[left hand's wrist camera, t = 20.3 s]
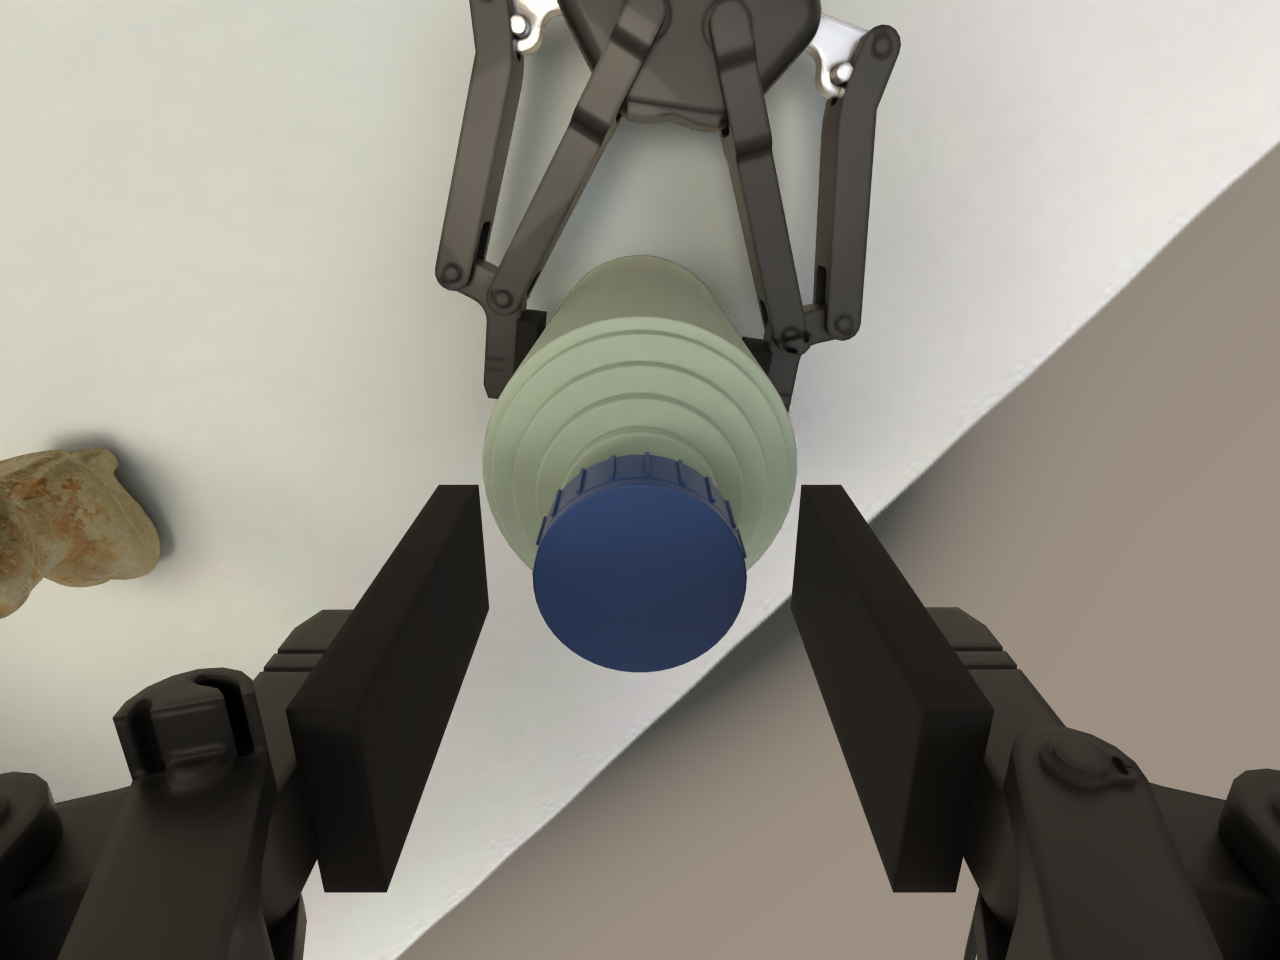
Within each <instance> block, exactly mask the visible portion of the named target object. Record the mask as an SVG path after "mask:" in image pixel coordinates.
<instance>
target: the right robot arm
mask: <svg viewBox="0 0 1280 960" xmlns="http://www.w3.org/2000/svg"><path fill="white" fill-rule="evenodd" d="M469 2H470V10H471V18H472V26H473V34H474V41H475V49H476V53H475V58H474V64H473V69H472V74H471V80H470V85H469V90H468V96H467V101H466V107H465V112H464V117H463V123H462V128H461V133H460V139H459V144H458V149H457V155H456V160H455V165H454V171H453V176H452V181H451V187H450V192H449V197H448V203H447V208H446V213H445V219H444V224H443V229H442V235H441V240H440V245H439V251H438V256H437V261H436V267H435V276H436V278H437V281H438V282H439V283H440V285H441V286H442V287H444V288H446V289H448V290H452V291H458V292H460V293H462V294H464V295H466V296H468V297H470V298H472V299H474V300H475V301H477V302H478V303H479V304H480V305H481V306H482V307H483V309H484V311H485V314H486V317H487V330H486V350H485V370H484V386H485V389H486V392H487V395H488V398H494V399H498V398H499V397H500V395H501V393H502V392H503V390H504V388H505V387H506V385H507V384H508V382H509V380H510V379H511V378H512V376H513V375H514V373H515V372H516V370H517V369H518V367H519V366H520V364H521V363H522V362H523V360H524V359H525V357H526V356H527V354H528V353H529V351H530V350H531V348H532V347H533V346H534V344H535V343H536V341H537V340H538V338H539V337H540V335H541V334H542V332H543V331H544V329H545V327H546V315H547V312H545V311H537V310H529V309H527V310H526V306H527V299H528V298H529V297H530V293H531V291H532V289H533V287H534V285H535V283H536V281H537V279H538V277H539V275H540V274H541V272H542V270H543V268H544V266H545V264H546V262H547V260H548V258H549V256H550V254H551V252H552V250H553V248H554V246H555V244H556V242H557V241H558V239H559V237H560V235H561V233H562V231H563V229H564V227H565V225H566V223H567V221H568V219H569V217H570V215H571V213H572V211H573V209H574V208H575V206H576V204H577V202H578V200H579V198H580V196H581V194H582V192H583V190H584V188H585V186H586V184H587V182H588V180H589V178H590V176H591V174H592V173H593V171H594V169H595V167H596V165H597V163H598V161H599V159H600V157H601V155H602V153H603V151H604V149H605V147H606V146H607V144H608V143H609V141H610V139H611V137H612V136H613V134H614V132H615V130H616V128H617V126H618V124H619V122H620V120H621V118H622V116H624V117H626V118H627V120H628V121H635V122H642V123H655V122H662V121H668V120H673V121H675V122H678V123H680V124H682V125H684V126H686V127H688V128H691V129H693V130H699V131H706V132H713V133H715V132H716V131H717V130H719V132H720V136H721V141H722V145H723V150H724V154H725V157H726V160H727V162H728V166H729V170H730V175H731V179H732V184H733V188H734V193H735V197H736V202H737V207H738V211H739V216H740V220H741V225H742V230H743V234H744V239H745V243H746V248H747V252H748V257H749V262H750V266H751V271H752V275H753V280H754V284H755V289H756V294H757V298H758V303H759V307H760V312H761V317H762V321H763V326H764V330H765V333H764V338H763V341H762V339H756V338H748V337H742V340H743V342H744V343H745V344H746V346H747V347H748V349H749V350H750V352H751V353H752V355H753V356H754V358H755V359H756V361H757V362H758V363H759V365H760V366H761V368H762V369H763V371H764V372H765V374H766V375H767V377H768V378H769V379H770V381H771V383H772V384H773V386H774V387H775V389H776V391H777V392H778V394H779V395H780V397H781V399H782V401H783V404H784V406H785V408H786V410H787V413H788V412H789V406H790V402H791V396H792V393H793V388H794V383H795V378H796V374H797V369H798V364H799V360H800V357H801V355H802V354H804V353H805V352H806V351H807V350H808V349H809V348H810V346H811V345H814V344H817V343H821V342H825V341H830V340H834V339H836V340H841V341H844V340H848V339H850V338H852V337H853V336H855V335H856V333H857V332H858V330H859V328H860V324H861V313H862V299H863V286H864V273H865V259H866V246H867V232H868V219H869V206H870V192H871V179H872V165H873V152H874V139H875V125H876V112H877V107H878V105H879V102H880V100H881V97H882V95H883V92H884V90H885V87H886V85H887V82H888V80H889V77H890V75H891V72H892V70H893V67H894V65H895V62H896V60H897V57H898V55H899V51H900V46H901V42H900V36H899V35H898V33H897V31H896V30H895V29H894V28H892V27H891V26H889V25H879V26H876V27H874V28H873V29H871V30H865V29H862V28H860V27H857V26H855V25H852V24H849V23H847V22H844V21H842V20H839V19H837V18H834V17H831V16H829V15H826V14H824V13H821V2H820V0H469ZM559 15H563V17H564V19H565V21H566V23H567V25H568V27H569V29H570V31H571V33H572V35H573V37H574V39H575V41H576V42H577V44H578V46H579V48H580V50H581V52H582V54H583V56H584V58H585V60H586V62H587V64H588V66H589V68H590V70H591V72H592V75H591V77H590V79H589V81H588V83H587V85H586V87H585V89H584V91H583V93H582V95H581V97H580V99H579V102H578V104H577V106H576V108H575V110H574V113H573V115H572V118H571V121H570V124H569V126H568V128H567V130H566V132H565V134H564V136H563V138H562V140H561V142H560V144H559V146H558V148H557V150H556V152H555V154H554V156H553V158H552V160H551V162H550V164H549V166H548V169H547V171H546V173H545V175H544V177H543V179H542V181H541V183H540V185H539V187H538V189H537V191H536V193H535V195H534V197H533V199H532V201H531V203H530V205H529V207H528V209H527V211H526V213H525V215H524V217H523V219H522V221H521V223H520V225H519V227H518V229H517V231H516V233H515V235H514V237H513V239H512V241H511V244H510V246H509V248H508V250H507V252H506V254H505V256H504V258H503V260H502V262H501V264H500V266H499V267H497V266H495V265H493V264H491V263H489V262H487V261H485V259H486V254H487V249H488V245H489V240H490V235H491V230H492V226H493V221H494V216H495V211H496V207H497V202H498V197H499V192H500V188H501V183H502V178H503V173H504V168H505V164H506V159H507V154H508V149H509V145H510V140H511V135H512V130H513V126H514V121H515V116H516V111H517V107H518V102H519V97H520V92H521V87H522V80H523V70H524V55H529V54H533V53H534V52H536V51H537V50H538V49H539V48H540V46H541V44H542V41H543V34H544V29H545V26H546V24H547V23H548V22H549V20H550V19H552V18H553V17H555V16H559ZM803 51H805V52H807V53H809V54H810V55H811V56H812V58H813V59H814V62H815V65H816V75H815V86H816V89H817V91H818V92H819V94H820V95H821V96H823V97H825V98H827V99H828V100H827V103H826V107H825V112H824V116H823V124H822V134H821V154H820V174H819V193H818V213H817V233H816V252H815V272H814V292H813V304H809V305H804V306H802V301H801V296H800V291H799V286H798V281H797V276H796V271H795V266H794V260H793V255H792V250H791V245H790V240H789V235H788V230H787V225H786V220H785V215H784V210H783V205H782V200H781V194H780V189H779V184H778V179H777V174H776V169H775V164H774V159H773V154H772V136H771V130H770V125H769V120H768V114H767V109H766V104H765V99H764V95H765V94H766V92H767V91H768V90H769V89H770V88H771V87H772V86H773V85H774V84H775V82H776V81H777V80H778V79H779V78H780V77H781V76H782V75H783V73H784V72H785V71H786V70H787V69H788V68H789V67H790V66H791V64H792V63H793V62H794V61H795V60H796V59H797V58H798V57H799V55H800V54H801V53H802V52H803Z"/></svg>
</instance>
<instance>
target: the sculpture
mask: <svg viewBox="0 0 1280 960" xmlns="http://www.w3.org/2000/svg"><path fill="white" fill-rule="evenodd" d="M118 466H119V464H118V461H117V459H116V457H115V456H114V455H113V454H112V453H111V452H110V451H109V450H106V449H103V448H93V449H85V450H79V451H77V452H74V453H71V454H69V453H67V452H65V451H62V450H50V451H42V452H36V453H31V454H26V455H21V456H17V457H14V458H10V459H6V460H3V461H0V619H1V618H4V617H7V616H9V615H10V614H12V613H13V612H15V611H16V610H18V609H19V608H20V607H21V606H22V605H23V603H24V602H25V601H26V599H27V598H28V596H29V594H30V592H31V590H32V589H33V588H34V587H35V586H36V585H37V584H38V583H39V582H40V581H41V580H42V579H43V578H44V577H45V578H47V579H49V580H52V581H54V582H56V583H59V584H61V585H65V586H70V587H89V586H94V585H99V584H102V583H105V582H107V581H109V580H110V579H122V580H126V579H133V578H137V577H141V576H144V575H146V574H148V573H149V572H150V571H151V570H152V569H153V568H154V567H155V566H156V564H157V563H158V561H159V558H160V541H159V537H158V534H157V531H156V529H155V527H154V525H153V523H152V522H151V520H150V518H149V517H148V516H147V514H146V513H145V512H144V510H143V509H142V508H141V506H140V505H139V504H138V503H137V502H136V501H135V500H134V499H133V498H132V497H131V496H130V494H129V493H128V492H127V491H126V490H125V489H124V488H123V487H122V485H121V484H120V483H119V482H118V481H117V479H116V477H115V475H114V471H115V470H116V469H117V468H118Z"/></svg>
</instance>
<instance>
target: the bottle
mask: <svg viewBox="0 0 1280 960" xmlns="http://www.w3.org/2000/svg"><path fill="white" fill-rule="evenodd" d="M645 452H649V455H654V456H661V457H665V458H669V459H673V460H675V461H678V459H680V460H682V461H683V464H685V465H687V466H689V467H690V468H692V469H694V470H696V471H697V472H699V473H700V474H701V475H703V476H704V477H705V478H706V477H707V476H709V477H710V478H711V483H712V484H713V485H714V486H715V487H716V489H717V490H718V491H719V492H720V494H721V495H722V496H723V498H724V500H725V501H727V500H729V502H730V505H731V508H732V512H733V515H734V519H735V522H736V526H737V528H736V529H738V528H739V531H740V535H741V538H742V542H743V545H744V548H745V552H746V556H747V558H744V560H745V564H746V571H747V570H748V569H749V568H750V567H751V566H752V565H754V564H755V563H756V562H757V561H758V560H759V559H760V557H761V556H762V555H763V554H764V552H765V551H766V550H767V549H768V547H769V546H770V545H771V544H772V542H773V540H774V539H775V537H776V535H777V534H778V532H779V530H780V529H781V527H782V525H783V522H784V520H785V518H786V516H787V513H788V511H789V508H790V504H791V501H792V497H793V494H794V489H795V482H796V475H797V451H796V444H795V437H794V432H793V429H792V425H791V422H790V418H789V415H788V413H787V410H786V408H785V406H784V404H783V401H782V399H781V397H780V395H779V394H778V392H777V391H776V389H775V387H774V386H773V384H772V383H771V381H770V379H769V378H768V377H767V375H766V374H765V372H764V371H763V369H762V368H761V366H760V365H759V363H758V362H757V361H756V359H755V358H754V356H753V355H752V353H751V352H750V350H749V349H748V347H747V346H746V344H745V343H744V342H743V340H742V339H741V337H740V336H739V334H738V333H737V331H736V330H735V328H734V327H733V325H732V324H731V323H730V321H729V320H728V318H727V317H726V315H725V314H724V312H723V311H722V309H721V308H720V307H719V305H718V304H717V302H716V301H715V299H714V298H713V296H712V295H711V293H710V292H709V290H708V289H707V288H706V287H705V286H704V284H703V283H702V282H701V281H700V280H699V279H698V278H697V277H696V276H694V275H693V274H692V273H691V272H689V271H688V270H686V269H685V268H684V267H682V266H680V265H678V264H676V263H674V262H671V261H668V260H666V259H663V258H658V257H653V256H642V255H637V256H626V257H622V258H617V259H614V260H611V261H609V262H606V263H604V264H602V265H600V266H598V267H596V268H595V269H593V270H592V271H591V272H589V273H588V274H586V275H585V276H584V277H583V278H582V279H581V280H580V281H579V282H578V283H577V284H576V285H575V287H574V288H573V289H572V290H571V292H570V293H569V295H568V296H567V297H566V299H565V300H564V302H563V303H562V305H561V306H560V308H559V309H558V311H557V312H556V313H555V315H554V316H553V318H552V319H551V321H550V322H549V324H548V325H547V327H546V328H545V329H544V331H543V332H542V334H541V335H540V337H539V338H538V340H537V341H536V343H535V344H534V346H533V347H532V348H531V350H530V351H529V353H528V354H527V356H526V357H525V359H524V360H523V362H522V363H521V364H520V366H519V367H518V369H517V370H516V372H515V373H514V375H513V376H512V378H511V379H510V380H509V382H508V384H507V385H506V387H505V388H504V390H503V392H502V393H501V395H500V397H499V398H498V400H497V403H496V405H495V407H494V410H493V412H492V415H491V417H490V420H489V424H488V428H487V431H486V435H485V441H484V450H483V478H484V484H485V490H486V495H487V499H488V502H489V505H490V508H491V512H492V514H493V516H494V519H495V521H496V523H497V525H498V527H499V529H500V531H501V533H502V534H503V536H504V537H505V539H506V541H507V542H508V544H509V545H510V547H511V548H512V549H513V550H514V552H515V553H516V554H517V555H518V556H519V558H520V559H521V560H522V561H523V562H524V563H525V564H526V565H527V566H528V567H529V568H530V569H531V570H533V569H534V562H535V558H536V554H537V550H538V547H539V545H536V541H537V538H538V535H539V531H540V528H541V524H542V521H543V518H544V516H546V517H547V516H548V513H549V511H550V508H551V506H552V504H553V502H554V500H555V497H556V493H557V491H558V490H559V489H560V490H562V489H563V488H564V487H565V486H566V485H567V484H568V483H569V482H570V481H571V480H572V479H573V478H574V477H576V476H577V475H578V474H579V473H580V469H582V468H584V469H587V468H589V467H591V466H593V465H595V464H597V463H599V462H602V461H605V460H607V459H611V456H612V455H615V456H616V457H619V456H626V455H645Z"/></svg>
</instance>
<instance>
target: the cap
mask: <svg viewBox="0 0 1280 960" xmlns="http://www.w3.org/2000/svg"><path fill="white" fill-rule="evenodd" d="M736 528H737V526H736V522H735V519H734V515H733V512H732V508H731V505H730V502H729V500H727V501H725V500H724V498H723V496H722V495H721V494H720V492H719V491H718V490H717V489H716V487H715V486H714V485H713V484H712V483H711V478H710V477H709V476H707V477H706V478H705V477H704V476H703V475H701V474H700V473H699V472H697V471H696V470H694V469H692V468H690V467H689V466H687V465H685V464H683V461H682V460H680V459H678V461H675V460H673V459H669V458H665V457H661V456H654V455H649V452H645V455H626V456H619V457H616V456H615V455H612V456H611V459H607V460H605V461H602V462H599V463H597V464H595V465H593V466H591V467H589V468H587V469H584V468H582V469H580V473H579V474H578V475H577V476H576V477H574V478H573V479H572V480H571V481H570V482H569V483H568V484H567V485H566V486H565V487H564V488H563V489H562V490H560V489H559V490H558V491H557V493H556V497H555V500H554V502H553V504H552V506H551V508H550V511H549V513H548V516H547V517H546V516H544V518H543V521H542V524H541V528H540V531H539V535H538V538H537V541H536V545H539V547H538V550H537V554H536V558H535V562H534V569H533V572H532V573H533V587H534V593H535V598H536V602H537V605H538V607H539V610H540V613H541V615H542V616H543V618H544V620H545V622H546V624H547V625H548V627H549V628H550V629H551V631H552V632H553V634H554V635H555V636H556V637H557V638H558V639H559V640H560V641H561V642H562V643H563V644H564V645H565V646H567V647H568V648H569V649H570V650H571V651H573V652H574V653H576V654H578V655H579V656H581V657H582V658H584V659H586V660H588V661H590V662H592V663H594V664H597V665H600V666H603V667H606V668H610V669H614V670H619V671H626V672H653V671H661V670H665V669H670V668H674V667H676V666H679V665H682V664H685V663H687V662H689V661H691V660H693V659H696V658H697V657H699V656H700V655H702V654H704V653H705V652H707V651H708V650H709V649H711V648H712V647H713V646H714V645H715V644H717V643H718V642H719V641H720V640H721V638H722V637H723V636H724V635H725V634H726V633H727V632H728V630H729V629H730V627H731V626H732V625H733V623H734V621H735V619H736V618H737V616H738V614H739V612H740V609H741V606H742V604H743V600H744V596H745V591H746V580H747V575H746V564H745V560H744V558H747V556H746V552H745V548H744V545H743V542H742V538H741V535H740V531H739V528H738V529H736Z"/></svg>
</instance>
